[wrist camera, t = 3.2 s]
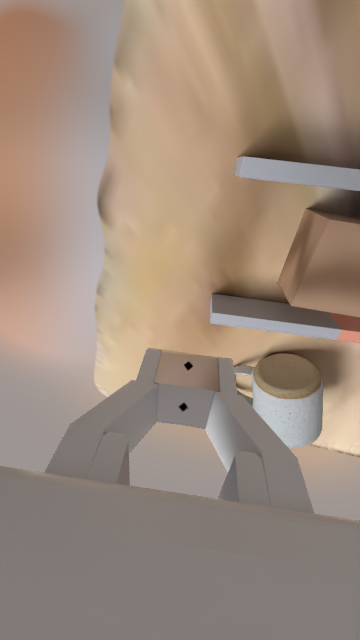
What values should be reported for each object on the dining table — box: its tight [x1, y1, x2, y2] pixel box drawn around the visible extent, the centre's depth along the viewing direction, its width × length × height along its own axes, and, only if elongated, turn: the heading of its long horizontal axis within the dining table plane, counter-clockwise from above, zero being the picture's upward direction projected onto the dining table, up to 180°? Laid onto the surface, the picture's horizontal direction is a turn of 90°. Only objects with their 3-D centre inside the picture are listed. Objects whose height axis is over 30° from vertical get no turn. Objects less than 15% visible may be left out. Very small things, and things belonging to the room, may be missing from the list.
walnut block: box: [277, 209, 360, 317], centre depth 21 cm, size 7×7×5 cm
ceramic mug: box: [234, 353, 323, 447], centre depth 29 cm, size 11×8×8 cm
